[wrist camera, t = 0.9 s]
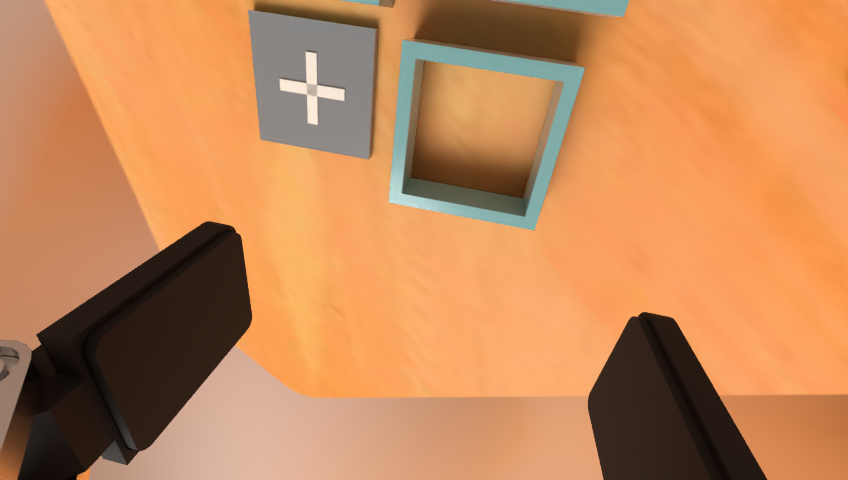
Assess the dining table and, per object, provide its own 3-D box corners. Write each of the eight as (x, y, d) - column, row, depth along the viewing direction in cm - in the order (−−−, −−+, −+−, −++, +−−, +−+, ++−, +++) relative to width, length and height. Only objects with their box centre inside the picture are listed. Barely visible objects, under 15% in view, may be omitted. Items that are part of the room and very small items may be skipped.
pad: (378, 28, 23) (375, 29, 22) (371, 156, 27) (368, 159, 26) (253, 10, 24) (247, 9, 23) (265, 137, 28) (259, 140, 27)
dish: (575, 62, 22) (585, 67, 20) (531, 210, 27) (534, 230, 24) (413, 37, 23) (402, 40, 20) (399, 185, 28) (388, 202, 25)
